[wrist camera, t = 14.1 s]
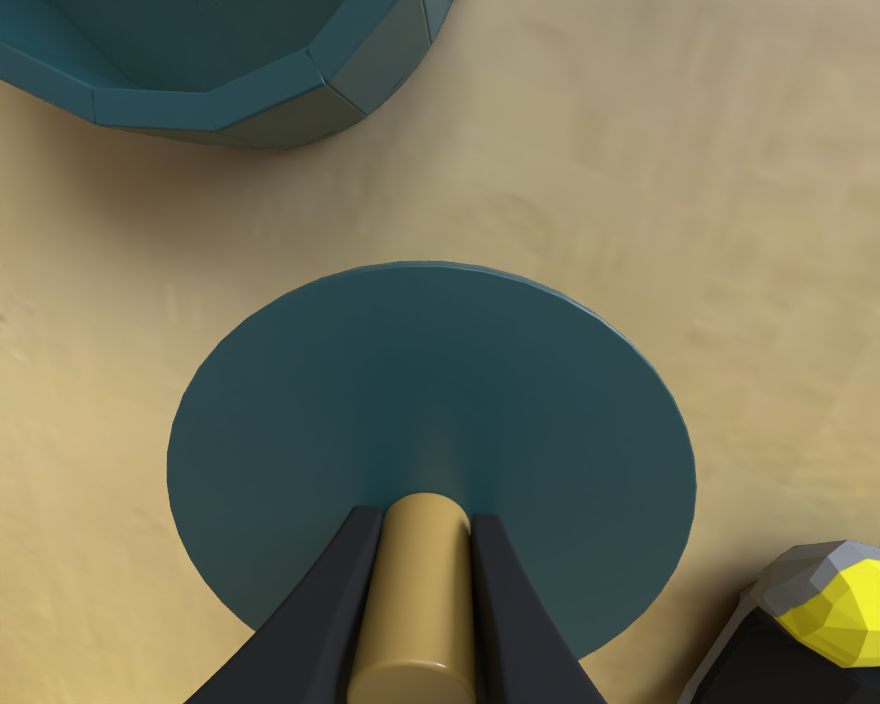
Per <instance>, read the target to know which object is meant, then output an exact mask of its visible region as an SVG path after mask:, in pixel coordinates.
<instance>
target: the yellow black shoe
mask: <svg viewBox="0 0 880 704" xmlns="http://www.w3.org/2000/svg"><path fill="white" fill-rule="evenodd" d="M677 704H880V548H879V547H875V546H871V545H866V544H862V543H858V542H853V541H849V540H844V541H835V542H826V543H817V544H808V545H800V546H794V547H793V548H791V549H790V550H788V551H787V552H785V553H783V554H782V555H780V556H779V557H778V558H777V559H775V560H774V561H773V562H772V563H771V564H769V565H768V566H767V567H766V568H765V569H763V570H762V572H761V573H760V576H759V579H758V580H757V581H755V582H754V583H752V584H751V585H750V586H748V587H747V588H746V589H744V590H743V591H742V592H740V599H739V606H738V607H737V609H736V611H735V612H734V614H733V615H732V617H731V618H730V620H729V622H728V623H727V625H726V626H725V628H724V629H723V631H722V632H721V634H720V635H719V637H718V638H717V640H716V641H715V643H714V644H713V646H712V647H711V649H710V651H709V652H708V654H707V655H706V657H705V658H704V660H703V661H702V663H701V664H700V666H699V667H698V669H697V670H696V672H695V673H694V675H693V676H692V677H691V679H690V680H689V681H688V682H687V684H686V686H685V688H684V690H683V692H682V694H681V696H680V699H679V701H678V702H677Z"/></svg>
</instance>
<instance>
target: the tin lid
mask: <svg viewBox="0 0 880 704" xmlns="http://www.w3.org/2000/svg"><path fill="white" fill-rule="evenodd" d="M167 487H168V494H169V500H170V507H171V511H172V514H173V518H174V521H175V524H176V527H177V531H178V534H179V536H180V538H181V540H182V543H183V545H184V547H185V549H186V551H187V553H188V555H189V557H190V559H191V561H192V562H193V564H194V566H195V567H196V569H197V570H198V572H199V573H200V575H201V576H202V578H203V580H204V581H205V582H206V584H207V585H208V586H209V587H210V588H211V590H212V591H213V592H214V593H215V594H216V596H217V597H218V598H219V599H220V600H221V602H222V603H223V604H224V605H225V606H227V607H228V608H229V609H230V610H231V611H232V612H233V613H234V614H235V615H236V616H237V617H238V618H239V619H240V620H241V621H242V622H244V623H245V624H246V625H248V626H249V627H250V628H252V629H253V630H254V631H255V632H256V631H257V630H258V629H259V628H260V627H261V626H262V625H263V624H264V623H265V621H266V620H267V619H268V618H269V617H270V616H271V615H272V614H273V612H274V611H275V610H276V609H277V608H278V607H279V605H280V604H281V603H282V602H283V601H284V600H285V598H286V597H287V596H288V595H289V594H290V593H291V591H292V590H293V589H294V588H295V587H296V585H297V584H298V583H299V582H300V581H301V579H302V578H303V577H304V576H305V574H306V573H307V572H308V570H309V569H310V568H311V566H312V565H313V564H314V563H315V561H316V560H317V559H318V557H319V556H320V555H321V553H322V552H323V551H324V549H325V548H326V547H327V545H328V544H329V542H330V541H331V540H332V538H333V537H334V535H335V534H336V532H337V531H338V530H339V528H340V527H341V525H342V524H343V522H344V520H345V519H346V517H347V516H348V514H349V512H350V511H351V509H352V508H353V507H355V506H356V505H359V506H374V507H381V535H380V540H379V545H378V549H377V554H376V558H375V563H374V568H373V572H372V576H371V581H370V585H369V590H368V594H367V599H366V604H365V608H364V613H363V617H362V622H361V627H360V631H359V636H358V640H357V645H356V649H355V654H354V659H353V663H352V668H351V672H350V677H349V682H348V686H347V691H346V698H347V704H478V696H477V673H476V650H475V627H474V604H473V584H472V570H471V546H470V533H471V523H472V514H473V513H479V514H494V515H499V516H500V517H501V518H502V520H503V523H504V526H505V528H506V531H507V533H508V536H509V538H510V541H511V543H512V545H513V547H514V550H515V552H516V554H517V556H518V558H519V560H520V562H521V564H522V566H523V568H524V570H525V572H526V574H527V576H528V578H529V580H530V582H531V583H532V585H533V587H534V589H535V591H536V593H537V595H538V596H539V598H540V600H541V602H542V604H543V605H544V607H545V609H546V611H547V612H548V614H549V616H550V618H551V619H552V621H553V623H554V624H555V626H556V628H557V629H558V631H559V632H560V634H561V636H562V637H563V639H564V641H565V642H566V644H567V645H568V647H569V648H570V650H571V652H572V653H573V655H574V656H575V658H576V659H577V661H578V660H580V659H581V658H583V657H585V656H587V655H588V654H590V653H592V652H594V651H595V650H597V649H599V648H601V647H602V646H604V645H605V644H607V643H608V642H609V641H611V640H612V639H613V638H615V637H616V636H618V635H619V634H620V633H622V632H623V631H624V630H625V629H627V628H628V627H629V626H630V625H631V624H632V623H633V622H634V621H635V620H636V619H637V618H638V617H639V616H641V615H642V614H643V613H644V612H645V611H646V609H647V608H648V607H649V606H650V605H651V603H652V602H653V601H654V600H655V599H656V597H657V596H658V595H659V594H660V593H661V591H662V590H663V588H664V587H665V585H666V584H667V582H668V580H669V579H670V577H671V576H672V574H673V572H674V571H675V569H676V567H677V565H678V563H679V560H680V558H681V556H682V554H683V551H684V549H685V547H686V544H687V541H688V538H689V534H690V530H691V526H692V522H693V518H694V512H695V501H696V490H697V485H696V472H695V460H694V454H693V450H692V446H691V442H690V438H689V435H688V431H687V427H686V424H685V422H684V420H683V418H682V416H681V413H680V411H679V409H678V407H677V404H676V402H675V400H674V398H673V396H672V394H671V393H670V391H669V390H668V388H667V387H666V385H665V384H664V382H663V381H662V379H661V378H660V376H659V375H658V373H657V372H656V370H655V369H654V367H653V366H652V365H651V364H650V363H649V362H648V361H647V360H646V359H645V358H644V357H643V355H642V354H641V353H640V352H639V351H638V350H637V349H636V348H635V347H634V346H633V345H632V343H631V342H630V341H629V340H627V339H626V338H625V337H624V336H623V335H622V334H620V333H619V332H618V331H617V330H615V329H614V328H613V327H612V326H610V325H609V324H608V323H607V322H605V321H604V320H603V319H602V318H600V317H599V316H598V315H597V314H596V313H594V312H593V311H591V310H589V309H588V308H586V307H584V306H583V305H581V304H579V303H578V302H576V301H574V300H572V299H571V298H569V297H567V296H566V295H564V294H562V293H561V292H558V291H556V290H554V289H551V288H549V287H546V286H544V285H541V284H539V283H537V282H534V281H532V280H529V279H527V278H525V277H522V276H518V275H514V274H511V273H507V272H503V271H499V270H495V269H492V268H488V267H484V266H477V265H470V264H462V263H454V262H446V261H398V262H391V263H384V264H377V265H370V266H363V267H357V268H354V269H350V270H347V271H343V272H340V273H336V274H333V275H329V276H326V277H322V278H319V279H317V280H315V281H313V282H310V283H308V284H306V285H304V286H302V287H299V288H297V289H295V290H293V291H290V292H288V293H286V294H284V295H283V296H281V297H279V298H278V299H276V300H275V301H273V302H271V303H270V304H268V305H267V306H265V307H264V308H262V309H260V310H259V311H257V312H256V313H254V314H253V315H251V316H249V317H248V318H247V319H245V320H244V321H243V322H242V323H241V324H240V325H239V326H237V327H236V328H235V329H234V330H233V331H232V332H231V333H229V334H228V335H227V336H226V337H225V338H224V339H223V340H221V341H220V343H219V344H218V345H217V346H216V347H215V349H214V350H213V351H212V352H211V353H210V355H209V356H208V357H207V358H206V359H205V361H204V362H203V363H202V364H201V366H200V367H199V368H198V370H197V372H196V374H195V375H194V377H193V379H192V380H191V382H190V384H189V386H188V387H187V389H186V391H185V393H184V394H183V397H182V400H181V402H180V405H179V408H178V410H177V413H176V416H175V418H174V421H173V424H172V429H171V435H170V440H169V445H168V451H167Z"/></svg>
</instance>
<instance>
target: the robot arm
mask: <svg viewBox="0 0 880 704" xmlns="http://www.w3.org/2000/svg"><path fill="white" fill-rule="evenodd" d="M380 535H381V507H374V506H359V505H356V506H355V507H353V508H352V509H351V511H350V512H349V514H348V516H347V517H346V519H345V520H344V522H343V524H342V525H341V527H340V528H339V530H338V531H337V532H336V534H335V535H334V537H333V538H332V540H331V541H330V542H329V544H328V545H327V547H326V548H325V549H324V551H323V552H322V553H321V555H320V556H319V557H318V559H317V560H316V561H315V563H314V564H313V565H312V566H311V568H310V569H309V570H308V572H307V573H306V574H305V576H304V577H303V578H302V579H301V581H300V582H299V583H298V584H297V585H296V587H295V588H294V589H293V590H292V591H291V593H290V594H289V595H288V596H287V597H286V598H285V600H284V601H283V602H282V603H281V604H280V605H279V607H278V608H277V609H276V610H275V611H274V612H273V614H272V615H271V616H270V617H269V618H268V619H267V620H266V621H265V623H264V624H263V625H262V626H261V627H260V628H259V629H258V630H257V631H256V632H255V633H254V635H253V636H252V637H251V638H250V639H249V640H248V641H247V642H246V643H245V644H244V645H243V646H242V647H241V648H240V649H239V650H238V651H237V652H236V653H235V654H234V655H233V656H232V657H231V658H230V659H229V660H228V661H227V662H226V663H225V664H224V665H223V666H222V667H221V668H220V669H219V670H218V671H217V672H216V673H215V674H214V675H213V676H212V677H211V678H210V679H209V680H208V681H207V682H206V683H205V684H204V685H202V686H201V687H200V688H199V689H198V690H197V691H196V692H195V693H194V694H193V695H192V696H191V697H190V698H189V699H188V700H187V701H185V702H184V703H183V704H347V698H346V691H347V686H348V682H349V677H350V672H351V668H352V663H353V659H354V654H355V649H356V645H357V640H358V636H359V631H360V627H361V622H362V617H363V613H364V608H365V604H366V599H367V594H368V590H369V585H370V581H371V576H372V572H373V568H374V563H375V558H376V554H377V549H378V545H379V540H380ZM470 546H471V570H472V584H473V604H474V627H475V650H476V673H477V696H478V704H607V702H606V701H605V700H604V698H603V697H602V695H601V694H600V693H599V691H598V690H597V688H596V687H595V686H594V684H593V683H592V681H591V680H590V678H589V677H588V675H587V674H586V673H585V671H584V670H583V668H582V667H581V665H580V664H579V662H578V661H577V659H576V658H575V656H574V655H573V653H572V652H571V650H570V648H569V647H568V645H567V644H566V642H565V641H564V639H563V637H562V636H561V634H560V632H559V631H558V629H557V628H556V626H555V624H554V623H553V621H552V619H551V618H550V616H549V614H548V612H547V611H546V609H545V607H544V605H543V604H542V602H541V600H540V598H539V596H538V595H537V593H536V591H535V589H534V587H533V585H532V583H531V582H530V580H529V578H528V576H527V574H526V572H525V570H524V568H523V566H522V564H521V562H520V560H519V558H518V556H517V554H516V552H515V550H514V547H513V545H512V543H511V541H510V538H509V536H508V533H507V531H506V528H505V526H504V523H503V520H502V518H501V517H500V516H499V515H494V514H479V513H473V514H472V523H471V533H470Z"/></svg>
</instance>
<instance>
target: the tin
mask: <svg viewBox="0 0 880 704" xmlns="http://www.w3.org/2000/svg"><path fill="white" fill-rule="evenodd" d="M452 2H453V0H0V80H2V81H4V82H6V83H8V84H11V85H13V86H15V87H17V88H19V89H21V90H23V91H25V92H27V93H29V94H31V95H33V96H36V97H38V98H40V99H42V100H44V101H46V102H48V103H50V104H52V105H54V106H56V107H59V108H61V109H63V110H65V111H67V112H69V113H71V114H73V115H75V116H77V117H79V118H81V119H84V120H86V121H88V122H90V123H92V124H94V125H98V126H100V127H105V128H111V129H116V130H122V131H128V132H133V133H139V134H145V135H150V136H156V137H162V138H168V139H173V140H179V141H185V142H190V143H196V144H202V145H209V146H227V147H242V148H250V149H282V150H288V149H292V148H294V147H297V146H299V145H305V144H309V143H312V142H315V141H318V140H321V139H324V138H327V137H330V136H333V135H335V134H337V133H339V132H341V131H343V130H344V129H346V128H348V127H350V126H352V125H354V124H356V123H358V122H359V121H360V120H362V119H363V118H365V117H366V116H367V115H369V114H370V113H372V112H373V111H374V110H376V109H377V108H379V107H380V106H381V105H382V104H383V103H384V102H385V101H386V100H387V99H388V98H389V97H390V96H391V95H392V94H394V93H395V92H396V91H397V90H398V89H399V88H400V87H401V86H402V84H403V83H404V82H405V81H406V79H407V78H408V77H409V76H410V74H411V73H412V72H413V71H414V69H415V68H416V67H417V66H418V64H419V63H420V62H421V60H422V59H423V57H424V55H425V54H426V52H427V50H428V49H429V48H430V46H431V44H432V43H433V41H434V39H435V37H436V36H437V34H438V32H439V30H440V28H441V25H442V23H443V21H444V19H445V17H446V15H447V12H448V10H449V8H450V6H451V4H452Z"/></svg>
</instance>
